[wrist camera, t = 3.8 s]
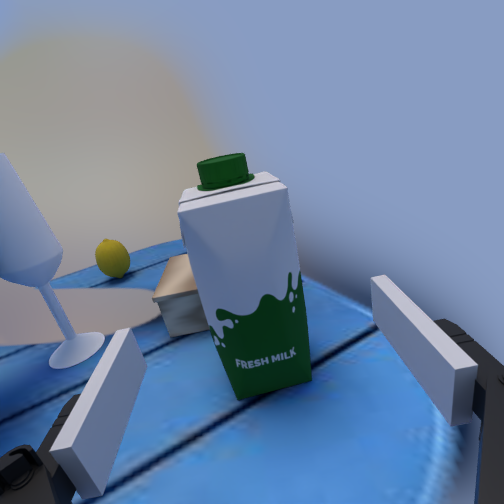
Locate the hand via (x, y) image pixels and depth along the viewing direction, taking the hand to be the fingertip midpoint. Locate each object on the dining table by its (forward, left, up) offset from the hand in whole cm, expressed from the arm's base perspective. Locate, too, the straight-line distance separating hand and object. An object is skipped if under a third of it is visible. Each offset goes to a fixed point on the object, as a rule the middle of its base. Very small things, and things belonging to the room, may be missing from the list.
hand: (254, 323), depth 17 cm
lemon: (-25, +39, -13) cm, 48 cm away
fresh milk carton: (0, +10, -13) cm, 16 cm away
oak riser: (-6, +23, -12) cm, 27 cm away
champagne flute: (-24, +19, -13) cm, 33 cm away
